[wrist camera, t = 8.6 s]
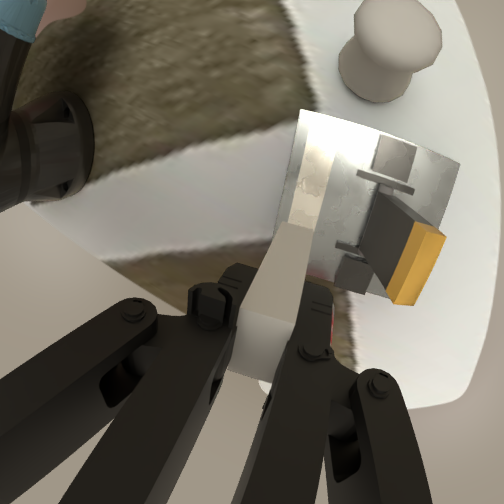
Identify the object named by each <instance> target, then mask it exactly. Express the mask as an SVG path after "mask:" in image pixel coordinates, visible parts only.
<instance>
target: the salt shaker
mask: <svg viewBox="0 0 504 504" xmlns="http://www.w3.org/2000/svg"><path fill="white" fill-rule="evenodd" d="M441 49H442V31H441V29H440V27H439V25H438V23H437V21H436V20H435V18H434V16H433V14H432V13H431V12H430V11H428V10H427V9H426V8H425V7H424V6H423V5H422V4H421V3H420V2H418V1H417V0H364V1H363V2H362V4H361V5H360V7H359V8H358V9H357V11H356V12H355V14H354V36H353V37H352V38H351V39H350V40H349V41H348V42H347V43H346V44H345V46H344V47H343V49H342V50H341V52H340V53H339V68H338V69H339V72H340V74H341V76H342V78H343V81H344V83H345V85H346V86H347V87H349V88H350V89H351V90H352V91H353V92H354V93H355V94H356V95H357V96H359V97H362V98H364V99H367V100H369V101H371V102H390V101H392V100H394V99H396V98H398V97H400V96H402V95H403V94H404V92H405V91H406V89H407V87H408V85H409V84H410V81H411V77H412V74H413V73H415V72H418V71H420V70H422V69H424V68H427V67H429V66H431V65H433V63H434V61H435V60H436V58H437V56H438V54H439V52H440V50H441Z"/></svg>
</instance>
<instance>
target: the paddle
mask: <svg viewBox="0 0 504 504" xmlns="http://www.w3.org/2000/svg"><path fill="white" fill-rule="evenodd" d="M393 192H394V188H392V187H390V186H387V185H385V184H380V186H379V189H378V193H377V196H376V199H375V202H374V205H373V208H372V211H371V215H370V218H369V220H368V223H367V226H366V229H365V232H364V235H363V238H362V241H361V243H360V246H359V249H358V254H360V255H361V256H363V257H365V259H366V260H367V262H368V263H369V265H370V266H371V268H372V269H373V271H374V273H375V274H376V276H377V277H378V279H379V280H380V282H381V284H382V285H383V287H384V289H385V290H386V293H387V294H388V296H389V298H390V299H391V301H392V303H393V304H397V305H408V306H414V304H415V302H416V300H417V299H418V297H419V295H420V293H421V291H422V289H423V287H424V285H425V283H426V281H427V279H428V277H429V275H430V273H431V271H432V269H433V267H434V265H435V262H436V260H437V258H438V256H439V254H440V251H441V249H442V247H443V244H444V242H445V240H446V236H445V235H444V234H443V233H442V232H440V231H439V230H438V229H437V228H436V227H434V226H433V225H432V224H430V223H429V222H428V221H427V220H426V219H424V218H423V217H422V216H421V215H419V214H418V213H417V212H416V211H414V210H413V209H412V208H410V207H409V206H408V205H407V204H405V203H404V202H403V201H401V200H400V199H399V198H397V197H396V196H393Z"/></svg>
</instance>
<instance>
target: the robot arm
mask: <svg viewBox="0 0 504 504" xmlns="http://www.w3.org/2000/svg"><path fill="white" fill-rule="evenodd" d="M46 5H47V0H0V212H3V211H5V210H6V209H9V208H11V207H12V206H15V205H17V204H19V203H21V202H24V201H57V200H62V199H64V198H67V197H69V196H71V195H74V194H75V193H77V192H78V191H79V190H80V189H81V188H82V187H83V185H84V184H85V182H86V180H87V178H88V175H89V172H90V169H91V165H92V160H93V150H94V138H93V129H92V123H91V119H90V116H89V113H88V111H87V108H86V106H85V105H84V103H83V102H82V100H81V99H80V98H79V97H78V96H77V95H75V94H74V93H72V92H68V91H60V92H51V93H47V94H45V95H43V96H41V97H39V98H37V99H35V100H33V101H31V102H29V103H27V104H25V105H24V106H22V107H20V108H18V109H16V110H13V111H11V110H12V105H13V101H14V97H15V93H16V89H17V86H18V82H19V79H20V76H21V72H22V69H23V66H24V63H25V60H26V57H27V55H28V52H29V49H30V47H31V44H32V43H34V41H35V39H36V37H35V34H36V31H37V28H38V26H39V23H40V21H41V18H42V16H43V13H44V11H45V9H46ZM313 232H314V230H312V229H308V228H305V227H301V226H298V225H294V224H290V223H287V222H283V221H282V222H281V225H280V227H279V229H278V231H277V233H276V235H275V237H274V239H273V241H272V243H271V245H270V247H269V249H268V251H267V253H266V255H265V257H264V259H263V261H262V263H261V265H260V267H259V269H257V268H253V267H250V266H246V265H243V264H240V263H236V264H234V265H232V266H230V267H228V268H227V269H226V271H225V272H224V274H223V275H222V277H221V278H220V279H219V281H218V283H212V282H210V283H200V284H197V285H194V286H193V287H191V288H190V289H189V290H188V307H187V314H186V315H184V316H169V315H161V314H157V310H156V307H155V306H154V305H153V304H152V303H151V302H150V301H148V300H145V299H142V298H127V299H124V300H122V301H119V302H118V303H116V304H114V305H113V306H111V307H110V308H108V309H107V310H105V311H103V312H102V313H100V314H99V315H97V316H95V317H94V318H92V319H91V320H89V321H88V322H86V323H84V324H83V325H81V326H80V327H78V328H77V329H75V330H74V331H72V332H70V333H69V334H67V335H66V336H64V337H63V338H61V339H60V340H58V341H57V342H55V343H54V344H52V345H50V346H49V347H48V348H46V349H44V350H43V351H41V352H40V353H38V354H37V355H36V356H34V357H32V358H31V359H29V360H28V361H26V362H25V363H23V364H22V365H20V366H19V367H18V368H16V369H14V370H13V371H12V372H10V373H9V374H7V375H6V376H4V377H3V378H1V379H0V504H10V503H11V502H13V501H14V500H15V499H17V498H18V497H19V496H20V495H22V494H23V493H24V492H26V491H27V490H28V489H29V488H31V487H32V486H33V485H34V484H36V483H37V482H38V481H39V480H41V479H42V478H43V477H45V476H46V475H47V474H48V473H50V472H51V471H52V470H53V469H54V468H56V467H57V466H58V465H59V464H60V463H62V462H63V461H64V460H65V459H67V458H68V457H69V456H70V455H71V454H73V453H74V452H75V451H76V450H77V449H78V448H80V447H81V446H82V445H83V444H84V443H86V442H87V441H88V440H89V439H91V438H92V437H93V436H94V435H95V434H96V433H98V432H99V431H100V430H101V429H102V428H103V427H105V426H106V425H107V424H108V423H109V422H110V421H111V420H113V419H114V420H113V421H112V423H111V424H110V426H109V427H108V429H107V430H106V432H105V433H104V435H103V436H102V438H101V439H100V441H99V442H98V444H97V445H96V447H95V448H94V450H93V451H92V453H91V454H90V456H89V457H88V459H87V460H86V462H85V463H84V465H83V466H82V468H81V469H80V471H79V472H78V474H77V475H76V477H75V479H74V480H73V482H72V483H71V485H70V486H69V488H68V489H67V491H66V492H65V494H64V496H63V497H62V499H61V500H60V502H59V503H58V504H166V503H167V501H168V499H169V497H170V495H171V493H172V491H173V489H174V487H175V485H176V483H177V480H178V478H179V476H180V474H181V472H182V470H183V468H184V466H185V464H186V462H187V460H188V457H189V455H190V453H191V451H192V449H193V447H194V444H195V442H196V440H197V438H198V436H199V434H200V431H201V429H202V427H203V425H204V423H205V421H206V418H207V416H208V414H209V412H210V410H211V407H212V405H213V403H214V400H215V398H216V396H217V394H218V392H219V390H220V387H221V385H222V382H223V376H224V373H225V371H226V369H227V366H228V370H230V371H233V372H236V373H239V374H242V375H245V376H248V377H251V378H255V379H258V380H261V381H264V382H268V383H271V384H272V386H271V389H270V391H269V394H268V396H267V398H266V401H265V403H264V405H263V408H262V409H263V412H262V415H261V418H260V421H259V424H258V428H257V431H256V434H255V437H254V440H253V443H252V446H251V449H250V452H249V455H248V458H247V461H246V464H245V466H244V470H243V472H242V475H241V478H240V481H239V483H238V486H237V489H236V492H235V494H234V497H233V500H232V502H231V504H315V499H316V495H317V489H318V485H319V479H320V474H321V468H322V462H323V456H324V461H325V470H326V480H327V490H328V502H329V504H433V503H432V498H431V494H430V489H429V485H428V481H427V477H426V473H425V469H424V465H423V461H422V458H421V454H420V451H419V447H418V443H417V440H416V437H415V433H414V430H413V427H412V423H411V420H410V417H409V414H408V411H407V408H406V405H405V402H404V399H403V396H402V393H401V390H400V388H399V385H398V384H397V382H396V380H395V379H394V378H393V377H392V376H391V375H390V374H389V373H387V372H385V371H383V370H380V369H375V368H372V369H366V370H365V371H363V372H362V373H360V374H358V373H356V372H354V371H352V370H350V369H348V368H346V367H345V366H343V365H342V364H340V363H339V362H338V361H337V360H336V358H335V356H334V351H333V350H332V348H331V347H330V340H331V326H332V307H333V296H332V295H331V293H330V291H329V289H328V288H326V287H323V286H319V285H316V284H312V283H309V282H305V281H304V280H305V275H306V270H307V265H308V260H309V254H310V249H311V243H312V238H313ZM228 364H229V365H228Z"/></svg>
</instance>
